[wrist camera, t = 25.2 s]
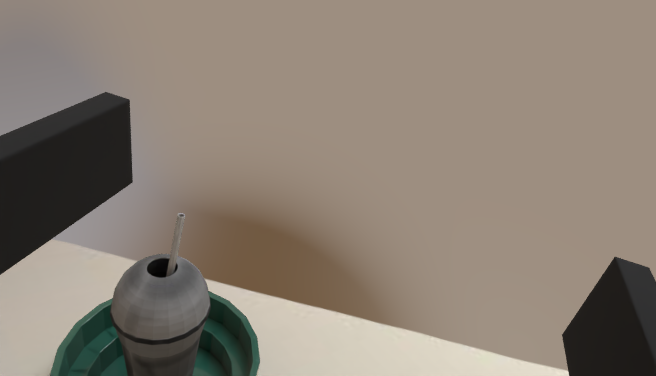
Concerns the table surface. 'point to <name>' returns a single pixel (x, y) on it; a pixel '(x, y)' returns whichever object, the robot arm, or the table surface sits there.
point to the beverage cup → (161, 313)
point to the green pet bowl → (212, 355)
